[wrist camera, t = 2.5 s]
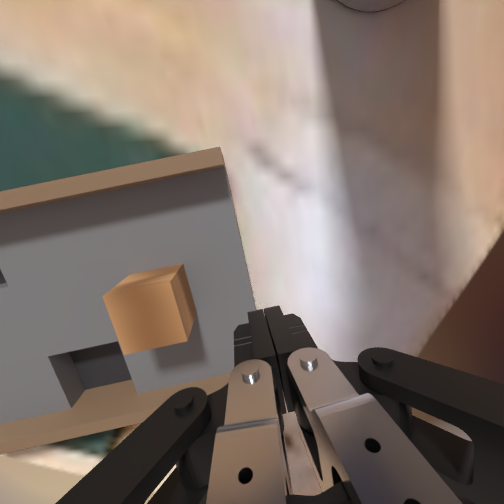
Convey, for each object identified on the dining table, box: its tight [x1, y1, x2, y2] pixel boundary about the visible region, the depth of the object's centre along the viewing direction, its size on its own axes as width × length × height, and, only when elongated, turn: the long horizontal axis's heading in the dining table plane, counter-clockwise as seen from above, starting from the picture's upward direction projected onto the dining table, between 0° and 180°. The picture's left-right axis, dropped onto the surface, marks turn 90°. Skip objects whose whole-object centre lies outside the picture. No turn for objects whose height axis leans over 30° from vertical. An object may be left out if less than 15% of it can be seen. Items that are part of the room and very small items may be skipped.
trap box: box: [0, 147, 256, 455], centre depth 19 cm, size 26×18×4 cm
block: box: [102, 263, 197, 355], centre depth 17 cm, size 4×4×4 cm
